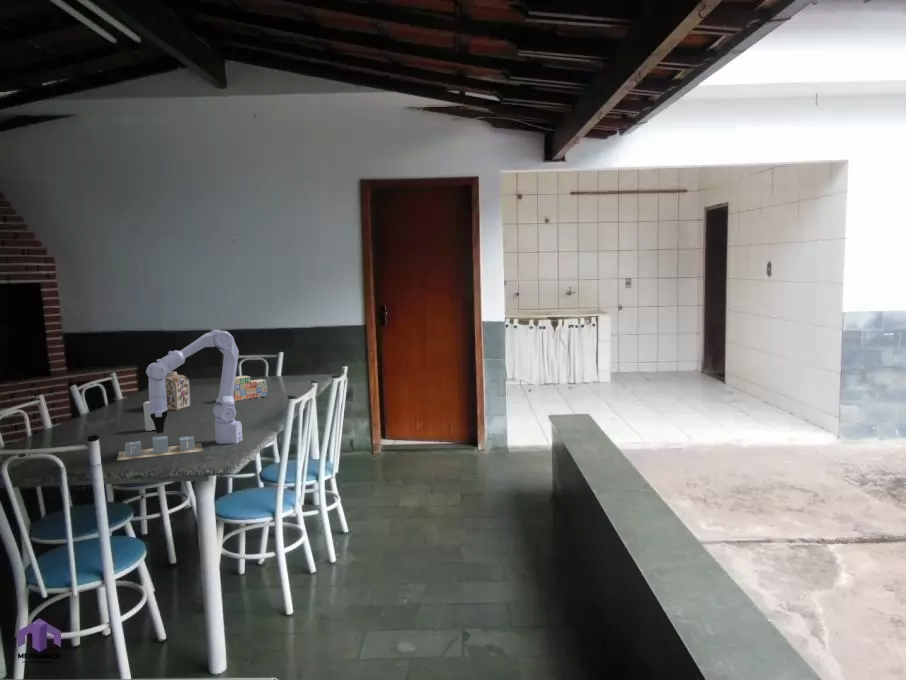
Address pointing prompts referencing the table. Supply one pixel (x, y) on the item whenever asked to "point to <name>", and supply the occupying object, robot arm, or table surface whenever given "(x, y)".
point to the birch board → (150, 453)
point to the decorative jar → (177, 391)
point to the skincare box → (148, 417)
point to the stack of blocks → (249, 388)
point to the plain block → (160, 444)
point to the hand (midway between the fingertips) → (159, 432)
